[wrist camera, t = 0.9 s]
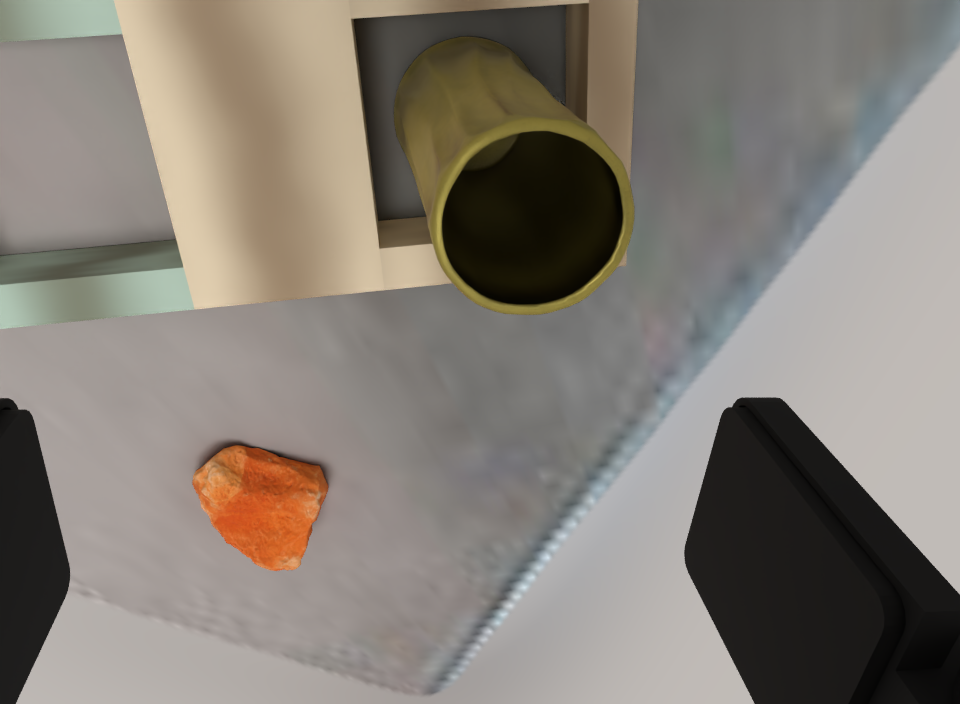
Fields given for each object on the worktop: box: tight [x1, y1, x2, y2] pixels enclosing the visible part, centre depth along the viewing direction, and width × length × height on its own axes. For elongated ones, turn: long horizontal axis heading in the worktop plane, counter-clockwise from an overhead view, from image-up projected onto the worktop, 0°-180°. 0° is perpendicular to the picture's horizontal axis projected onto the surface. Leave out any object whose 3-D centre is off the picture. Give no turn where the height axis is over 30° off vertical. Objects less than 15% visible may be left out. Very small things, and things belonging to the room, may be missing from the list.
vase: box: [394, 36, 634, 315], centre depth 25 cm, size 6×6×14 cm
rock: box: [192, 445, 328, 571], centre depth 37 cm, size 12×12×4 cm
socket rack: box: [0, 0, 638, 329], centre depth 29 cm, size 28×12×4 cm, turn 93°
